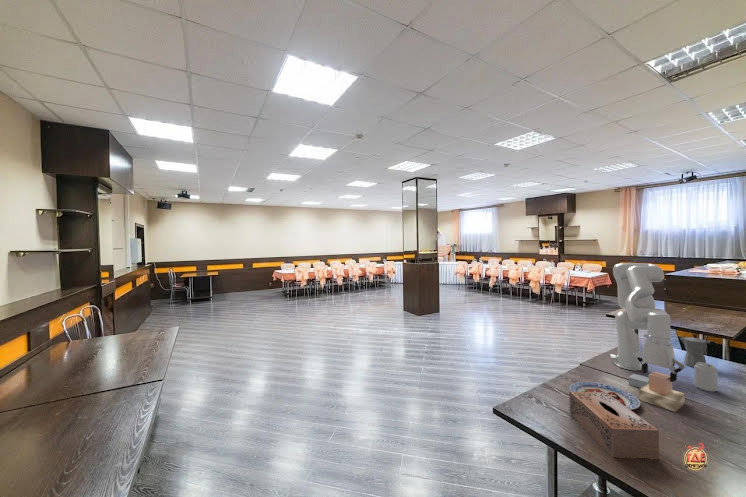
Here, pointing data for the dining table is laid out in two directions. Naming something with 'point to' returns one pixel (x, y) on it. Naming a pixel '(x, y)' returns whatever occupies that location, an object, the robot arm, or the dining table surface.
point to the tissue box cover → (614, 425)
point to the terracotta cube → (660, 383)
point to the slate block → (638, 380)
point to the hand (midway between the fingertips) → (658, 376)
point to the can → (706, 377)
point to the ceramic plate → (615, 392)
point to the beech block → (662, 398)
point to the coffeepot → (696, 350)
